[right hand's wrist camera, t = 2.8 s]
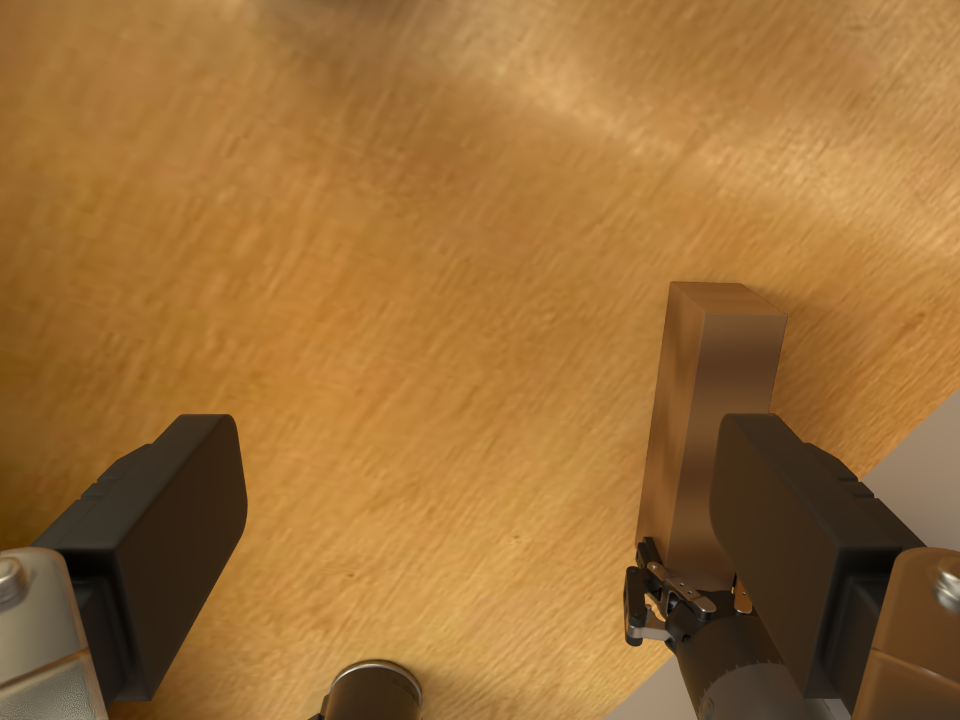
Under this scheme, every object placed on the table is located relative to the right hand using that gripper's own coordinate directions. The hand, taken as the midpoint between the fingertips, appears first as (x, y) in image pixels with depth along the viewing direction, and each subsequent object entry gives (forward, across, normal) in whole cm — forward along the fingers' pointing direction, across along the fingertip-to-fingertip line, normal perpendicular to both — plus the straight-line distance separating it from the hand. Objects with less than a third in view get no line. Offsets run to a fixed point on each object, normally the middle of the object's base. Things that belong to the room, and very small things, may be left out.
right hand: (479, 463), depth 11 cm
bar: (+42, +18, -20) cm, 50 cm away
